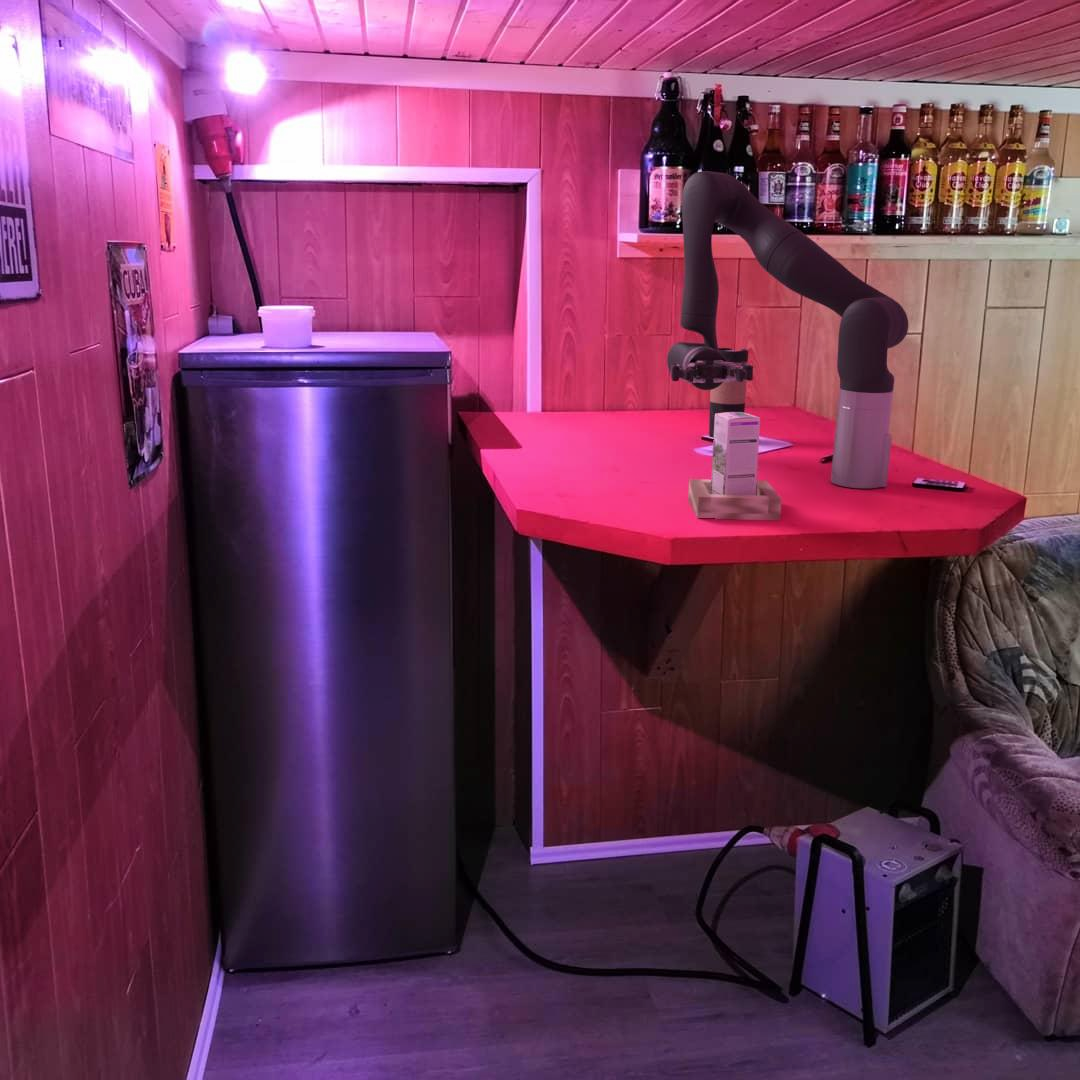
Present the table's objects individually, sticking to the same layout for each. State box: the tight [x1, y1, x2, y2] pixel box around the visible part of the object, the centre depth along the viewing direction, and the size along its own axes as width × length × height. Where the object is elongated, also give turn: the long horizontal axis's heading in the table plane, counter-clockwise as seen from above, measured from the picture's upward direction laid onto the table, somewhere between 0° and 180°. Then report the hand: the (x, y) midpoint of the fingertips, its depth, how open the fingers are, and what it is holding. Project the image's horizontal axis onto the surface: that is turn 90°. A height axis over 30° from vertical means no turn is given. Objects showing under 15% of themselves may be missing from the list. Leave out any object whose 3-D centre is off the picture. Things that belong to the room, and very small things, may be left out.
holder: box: [687, 478, 783, 521], centre depth 172 cm, size 13×13×4 cm
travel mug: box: [708, 347, 749, 438], centre depth 231 cm, size 8×8×20 cm
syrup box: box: [710, 411, 761, 495], centre depth 170 cm, size 6×6×14 cm
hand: (716, 376), depth 181 cm, fingers open, 8 cm apart
